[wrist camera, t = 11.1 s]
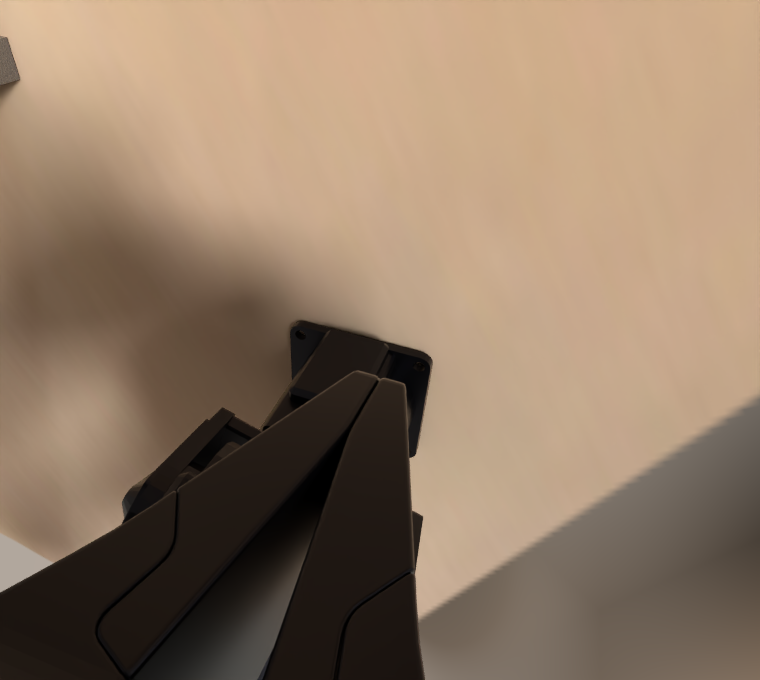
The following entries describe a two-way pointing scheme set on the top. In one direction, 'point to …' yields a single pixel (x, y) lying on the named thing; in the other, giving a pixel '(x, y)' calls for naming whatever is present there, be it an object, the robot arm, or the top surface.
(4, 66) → the frame
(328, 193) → the top surface
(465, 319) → the top surface
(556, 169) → the top surface
